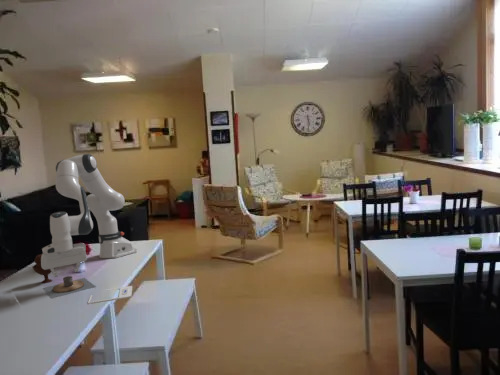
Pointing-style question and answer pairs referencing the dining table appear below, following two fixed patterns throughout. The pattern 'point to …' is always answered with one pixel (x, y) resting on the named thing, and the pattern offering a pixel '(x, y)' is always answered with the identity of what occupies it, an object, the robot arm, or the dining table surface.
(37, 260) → the ice cream bowl
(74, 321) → the dining table surface
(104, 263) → the dining table surface
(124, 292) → the photo frame
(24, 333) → the dining table surface
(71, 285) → the walnut lid
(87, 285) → the rubber mat
